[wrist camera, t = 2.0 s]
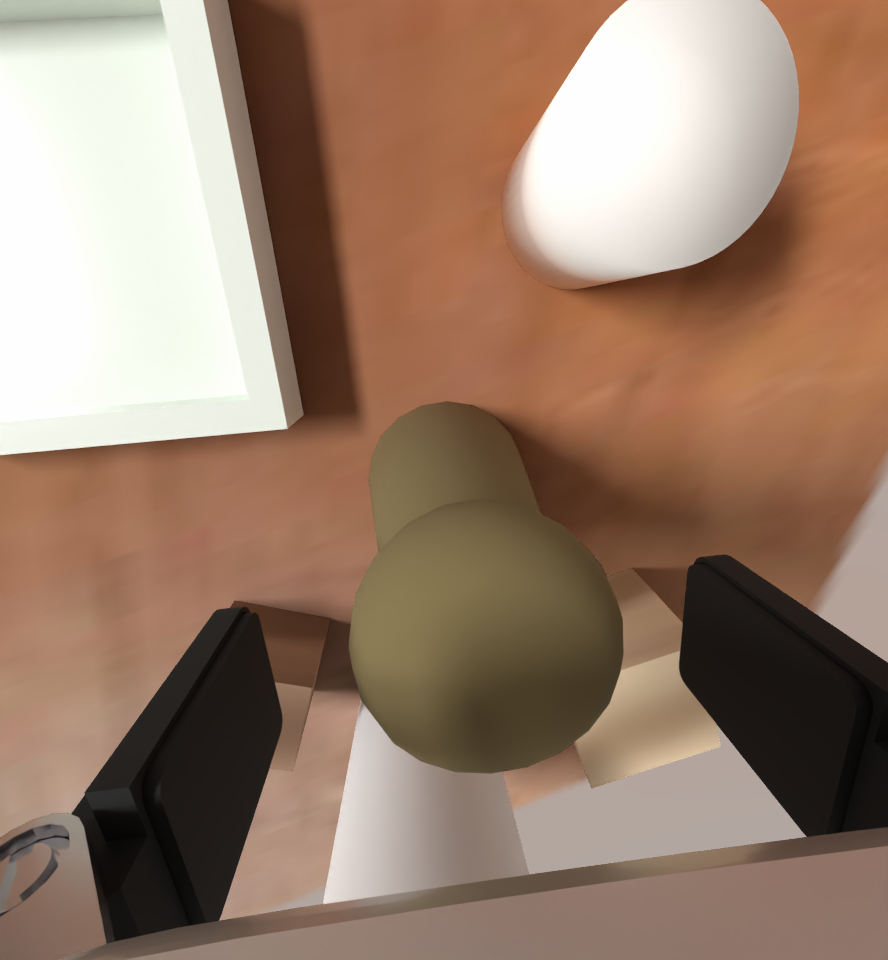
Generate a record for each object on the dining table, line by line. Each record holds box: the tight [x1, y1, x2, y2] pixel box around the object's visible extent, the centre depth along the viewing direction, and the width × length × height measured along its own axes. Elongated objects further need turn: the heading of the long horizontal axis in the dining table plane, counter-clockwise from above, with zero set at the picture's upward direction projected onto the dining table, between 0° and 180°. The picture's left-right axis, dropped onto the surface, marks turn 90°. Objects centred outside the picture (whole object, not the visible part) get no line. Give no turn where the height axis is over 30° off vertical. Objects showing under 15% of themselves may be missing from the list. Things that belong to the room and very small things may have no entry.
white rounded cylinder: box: [502, 0, 799, 289], centre depth 12 cm, size 5×5×6 cm
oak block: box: [574, 568, 721, 788], centre depth 18 cm, size 5×5×5 cm
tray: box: [0, 0, 304, 455], centre depth 13 cm, size 12×12×2 cm
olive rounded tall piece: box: [348, 402, 624, 774], centre depth 12 cm, size 6×6×11 cm
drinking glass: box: [323, 701, 529, 904], centre depth 16 cm, size 7×7×10 cm
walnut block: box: [230, 601, 331, 771], centre depth 18 cm, size 4×4×4 cm
